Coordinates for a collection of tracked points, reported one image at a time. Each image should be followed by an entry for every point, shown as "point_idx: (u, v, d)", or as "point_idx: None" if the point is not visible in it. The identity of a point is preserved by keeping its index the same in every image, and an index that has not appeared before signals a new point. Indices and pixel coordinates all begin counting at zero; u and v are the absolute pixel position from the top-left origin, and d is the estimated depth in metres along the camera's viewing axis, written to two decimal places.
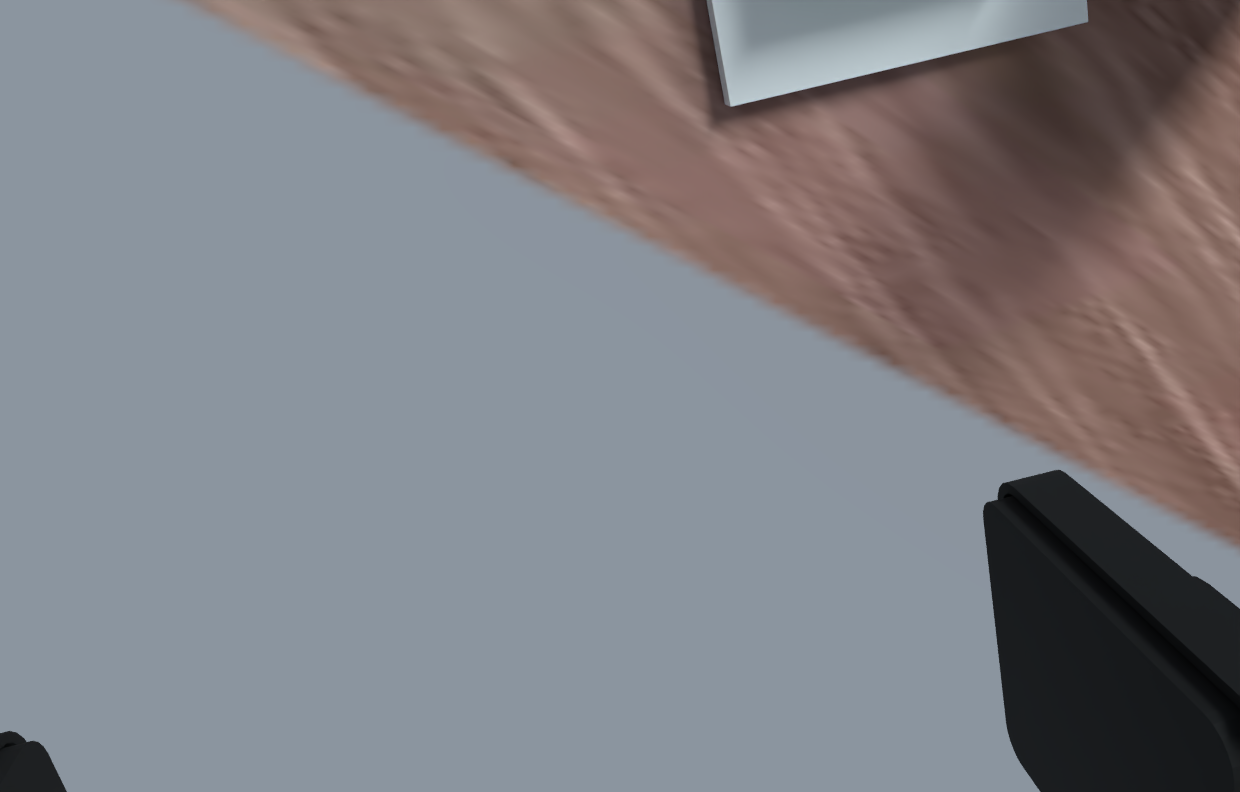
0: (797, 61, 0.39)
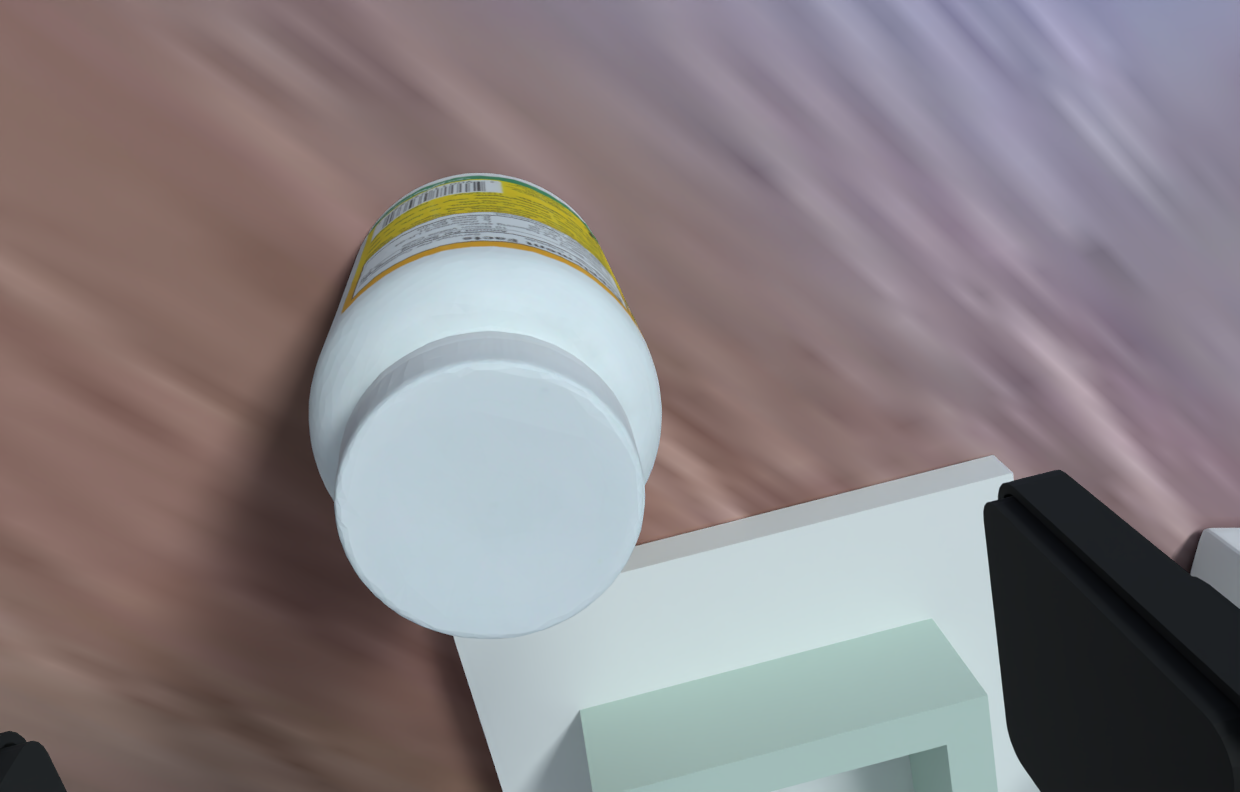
0: None
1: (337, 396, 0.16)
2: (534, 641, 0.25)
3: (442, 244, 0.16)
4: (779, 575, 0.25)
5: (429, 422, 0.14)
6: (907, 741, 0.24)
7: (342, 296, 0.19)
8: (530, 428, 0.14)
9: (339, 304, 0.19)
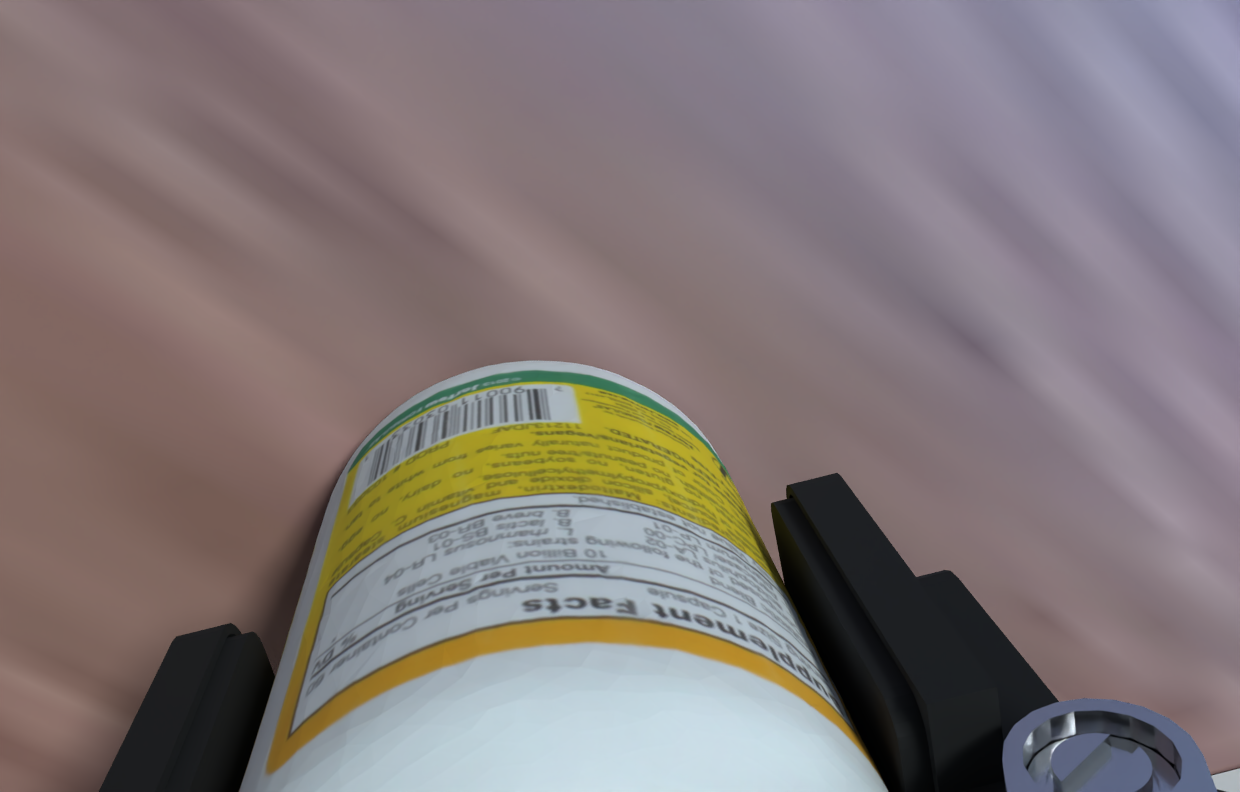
0: None
1: None
2: None
3: (478, 625, 0.08)
4: None
5: None
6: None
7: (292, 627, 0.10)
8: None
9: (285, 648, 0.10)
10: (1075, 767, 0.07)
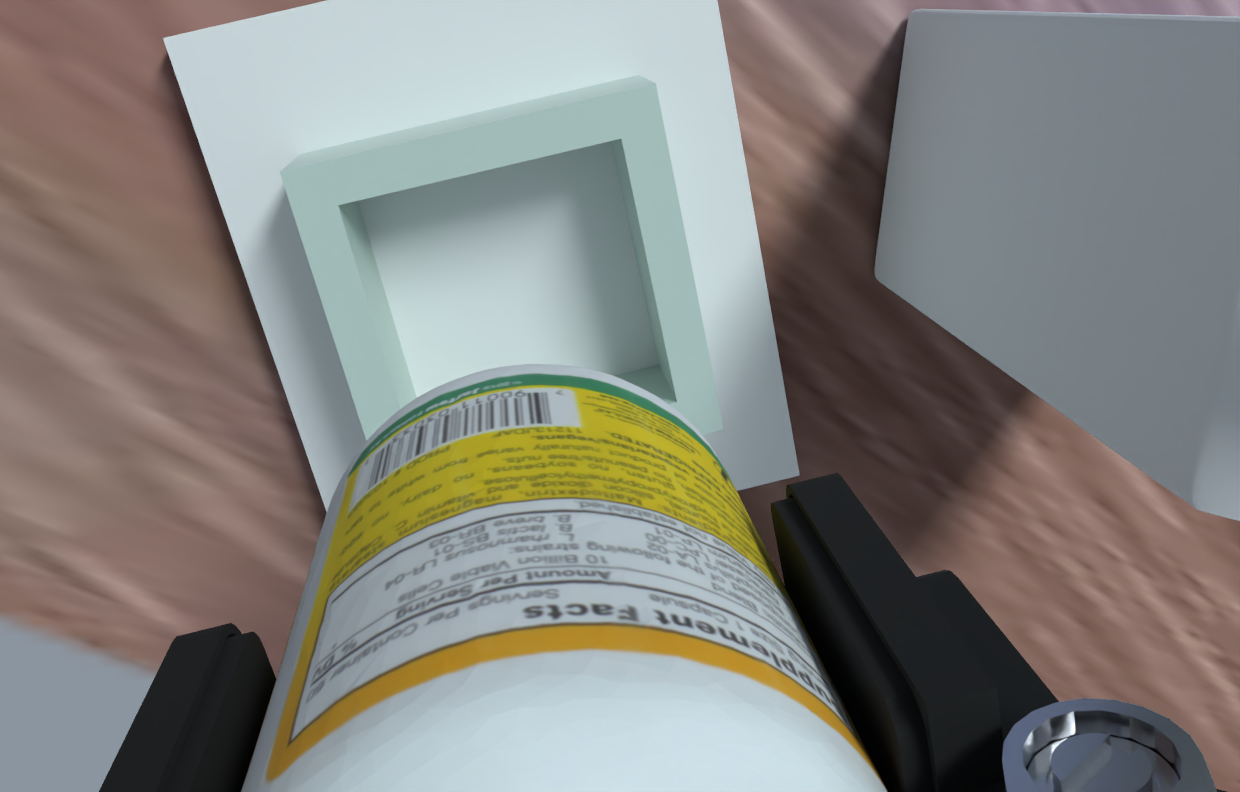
0: None
1: None
2: (249, 71, 0.27)
3: (479, 631, 0.08)
4: (482, 14, 0.27)
5: None
6: (582, 131, 0.25)
7: (292, 632, 0.10)
8: None
9: (285, 653, 0.10)
10: (1075, 767, 0.07)
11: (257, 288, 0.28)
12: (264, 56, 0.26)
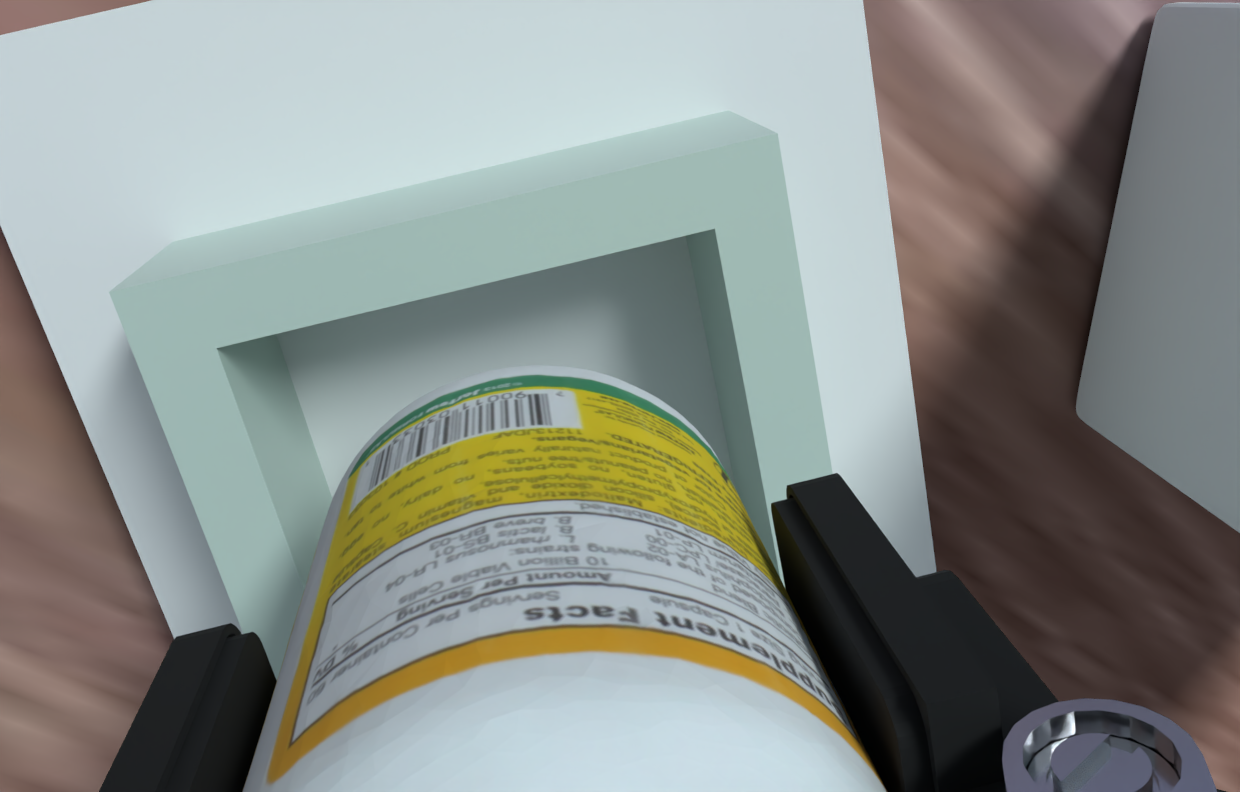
0: None
1: None
2: (80, 108, 0.16)
3: (481, 634, 0.08)
4: (472, 11, 0.16)
5: None
6: (646, 216, 0.14)
7: (292, 634, 0.10)
8: None
9: (285, 655, 0.10)
10: (1074, 767, 0.07)
11: (110, 454, 0.17)
12: (104, 82, 0.16)
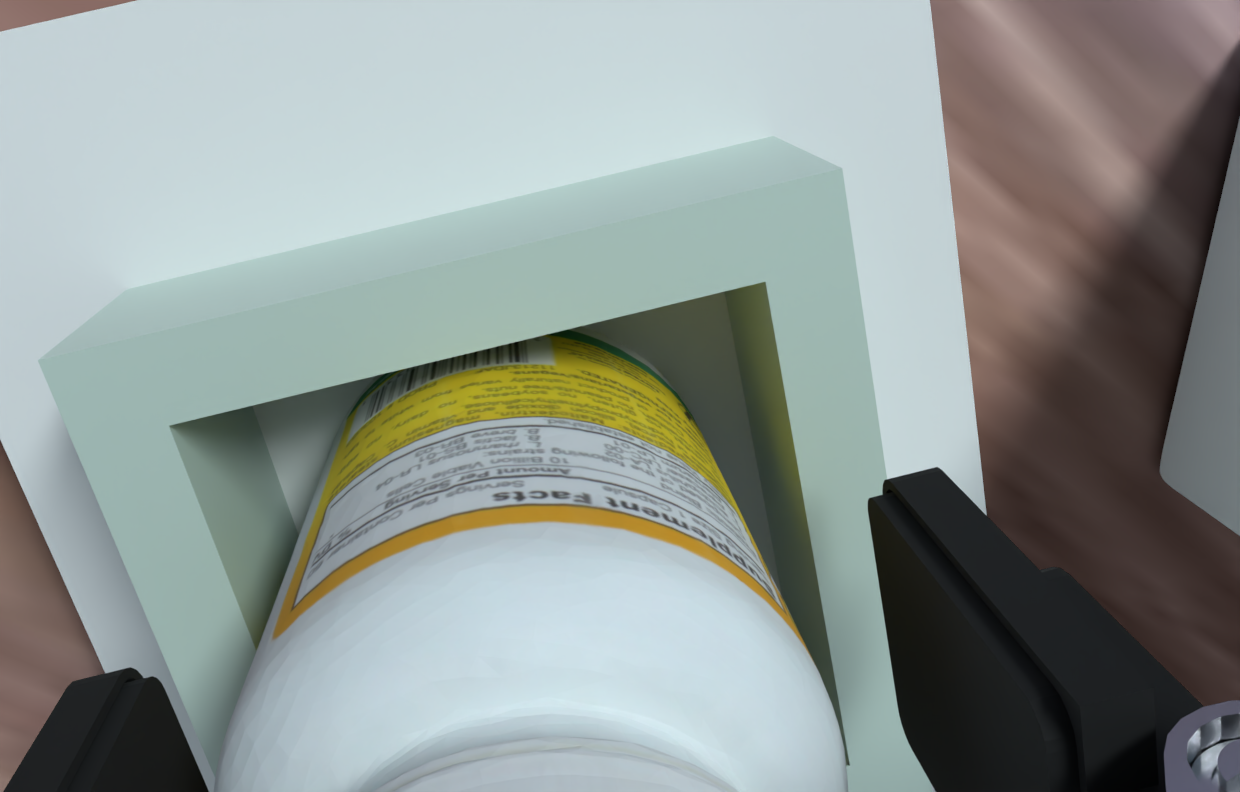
0: None
1: None
2: (16, 135, 0.13)
3: (455, 512, 0.09)
4: (476, 22, 0.14)
5: None
6: (684, 268, 0.12)
7: (296, 543, 0.12)
8: None
9: (290, 560, 0.12)
10: None
11: (57, 531, 0.15)
12: (44, 105, 0.13)
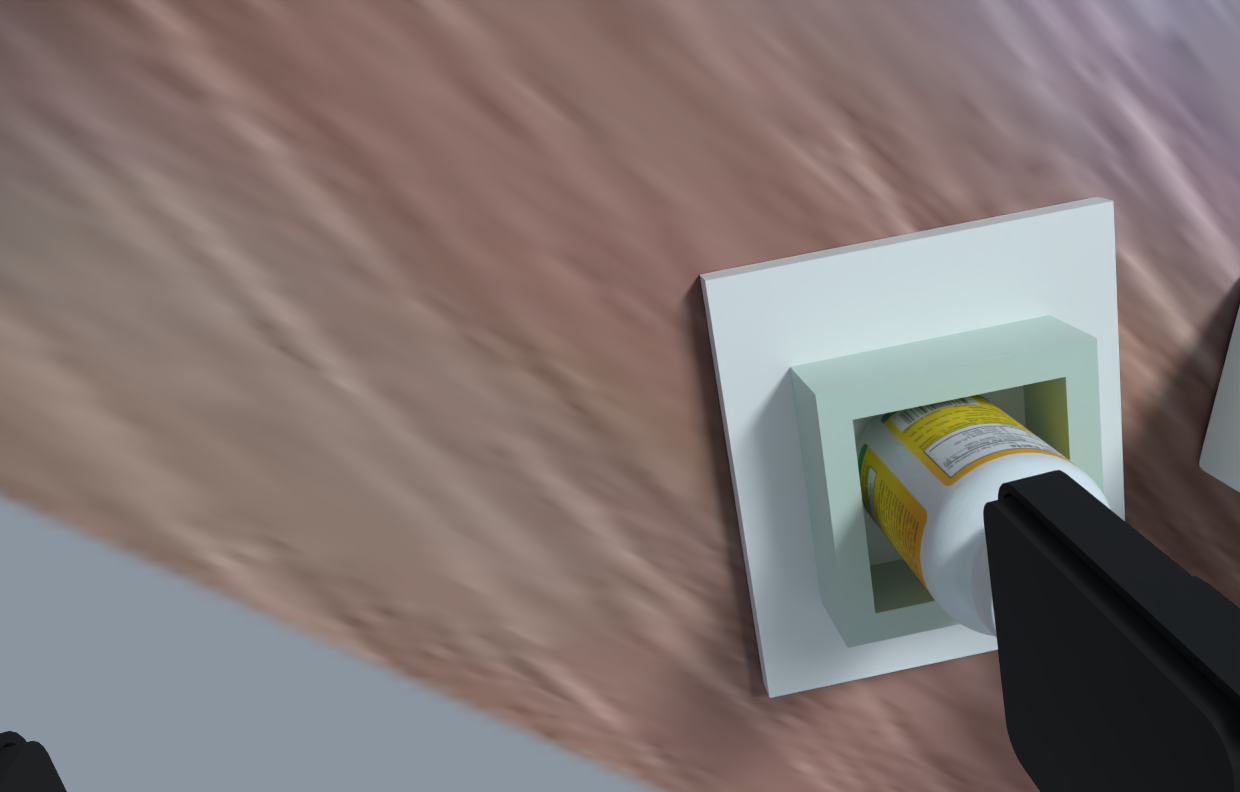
0: (838, 658, 0.39)
1: (957, 532, 0.29)
2: (763, 306, 0.35)
3: (1001, 449, 0.30)
4: (941, 269, 0.35)
5: None
6: (1038, 370, 0.33)
7: (898, 466, 0.33)
8: None
9: (899, 471, 0.32)
10: None
11: (739, 465, 0.36)
12: (776, 295, 0.35)
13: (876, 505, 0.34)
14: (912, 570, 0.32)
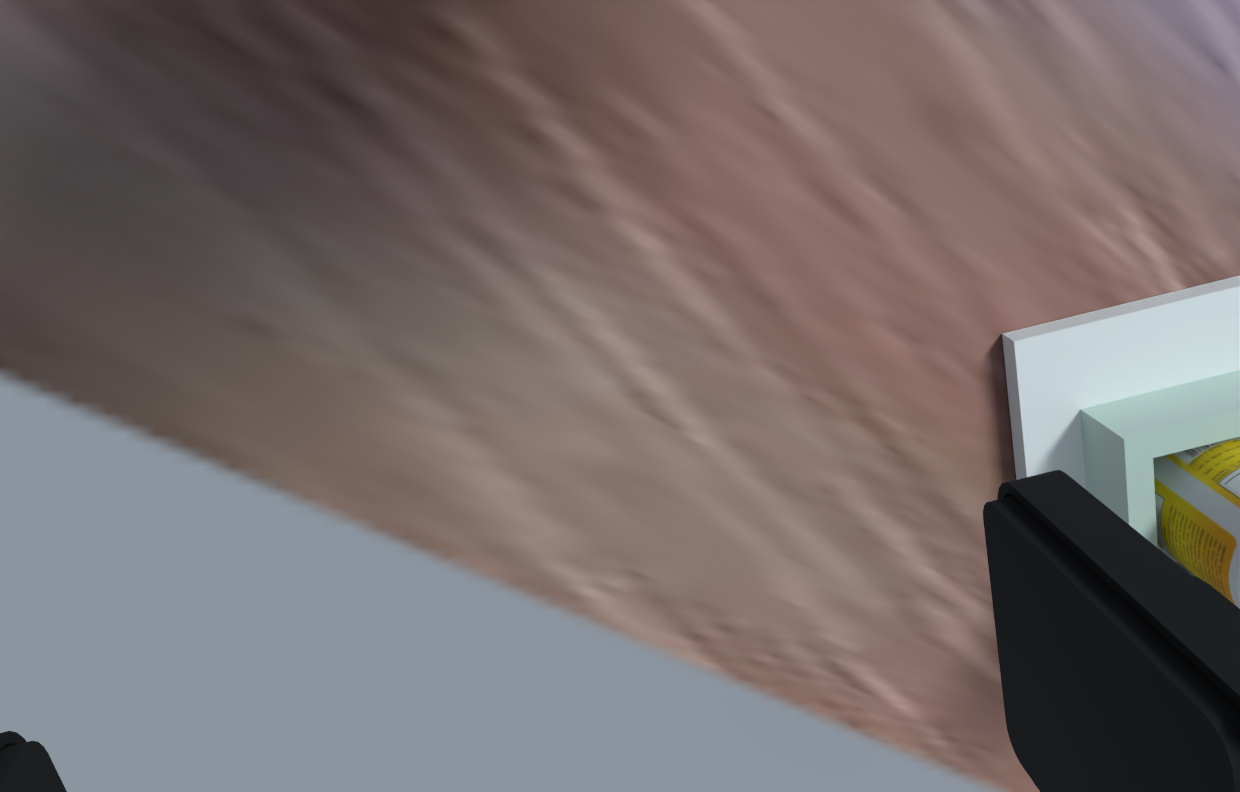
0: None
1: None
2: (1061, 360, 0.40)
3: None
4: (1211, 321, 0.41)
5: None
6: None
7: (1191, 495, 0.39)
8: None
9: (1194, 500, 0.38)
10: None
11: None
12: (1072, 350, 0.40)
13: (1164, 526, 0.40)
14: (1208, 583, 0.38)
